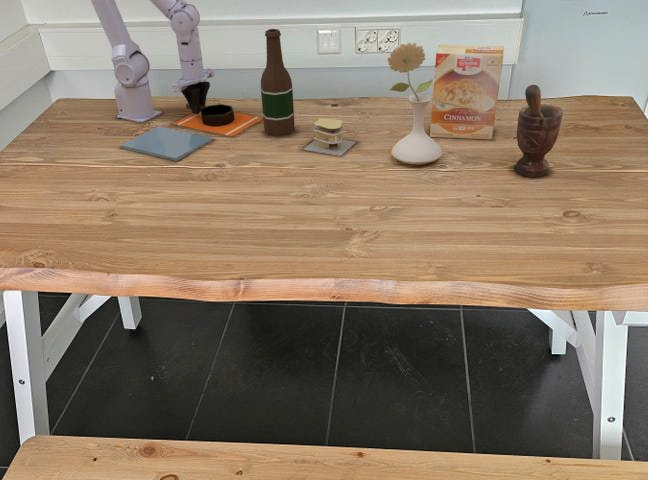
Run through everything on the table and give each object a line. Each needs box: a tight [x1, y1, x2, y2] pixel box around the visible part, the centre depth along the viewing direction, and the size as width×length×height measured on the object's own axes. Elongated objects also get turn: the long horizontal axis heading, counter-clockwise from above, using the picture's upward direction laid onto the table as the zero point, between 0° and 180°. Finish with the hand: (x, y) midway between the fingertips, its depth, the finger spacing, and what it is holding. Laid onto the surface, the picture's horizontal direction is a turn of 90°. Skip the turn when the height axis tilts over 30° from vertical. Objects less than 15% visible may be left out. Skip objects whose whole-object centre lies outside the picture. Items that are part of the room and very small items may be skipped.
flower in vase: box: [387, 42, 443, 165], centre depth 149 cm, size 13×11×25 cm
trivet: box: [120, 125, 214, 162], centre depth 170 cm, size 18×14×1 cm
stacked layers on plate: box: [302, 117, 357, 157], centre depth 163 cm, size 10×9×6 cm
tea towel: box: [172, 111, 263, 137], centre depth 181 cm, size 20×14×1 cm
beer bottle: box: [260, 28, 295, 138], centre depth 165 cm, size 8×8×24 cm
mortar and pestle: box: [513, 84, 564, 178], centre depth 141 cm, size 12×9×20 cm
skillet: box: [185, 103, 235, 126], centre depth 181 cm, size 14×8×3 cm, turn 57°
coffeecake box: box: [429, 44, 505, 141], centre depth 161 cm, size 15×7×20 cm, turn 76°
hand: (198, 112), depth 182 cm, fingers closed on skillet, 2 cm apart
